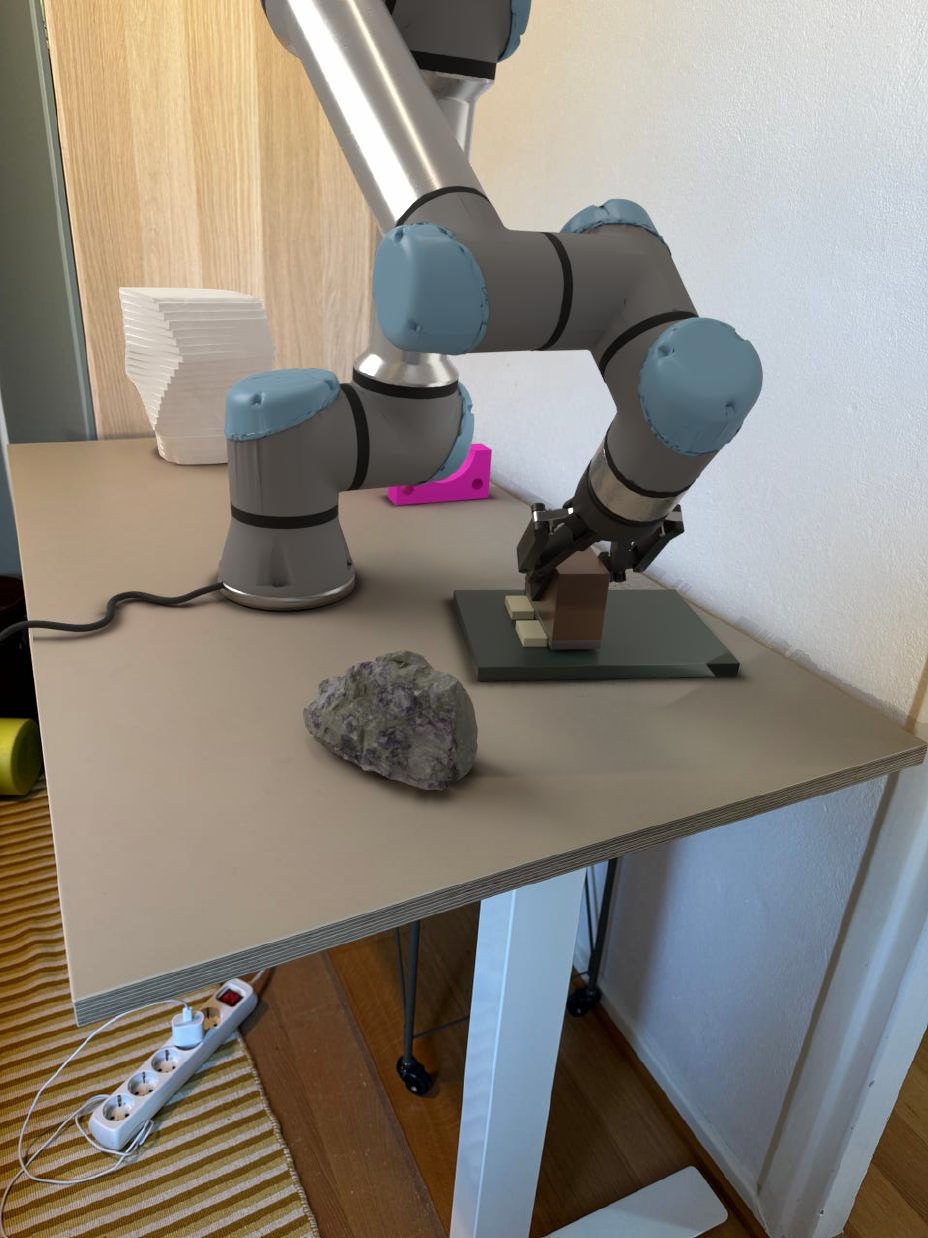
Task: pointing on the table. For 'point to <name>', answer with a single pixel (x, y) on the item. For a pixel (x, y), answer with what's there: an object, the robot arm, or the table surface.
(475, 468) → the toy block
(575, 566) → the block
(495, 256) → the robot arm
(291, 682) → the table surface
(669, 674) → the slate board
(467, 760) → the mineral rock
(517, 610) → the cream rectangular block
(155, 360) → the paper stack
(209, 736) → the table surface
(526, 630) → the cream flat block
